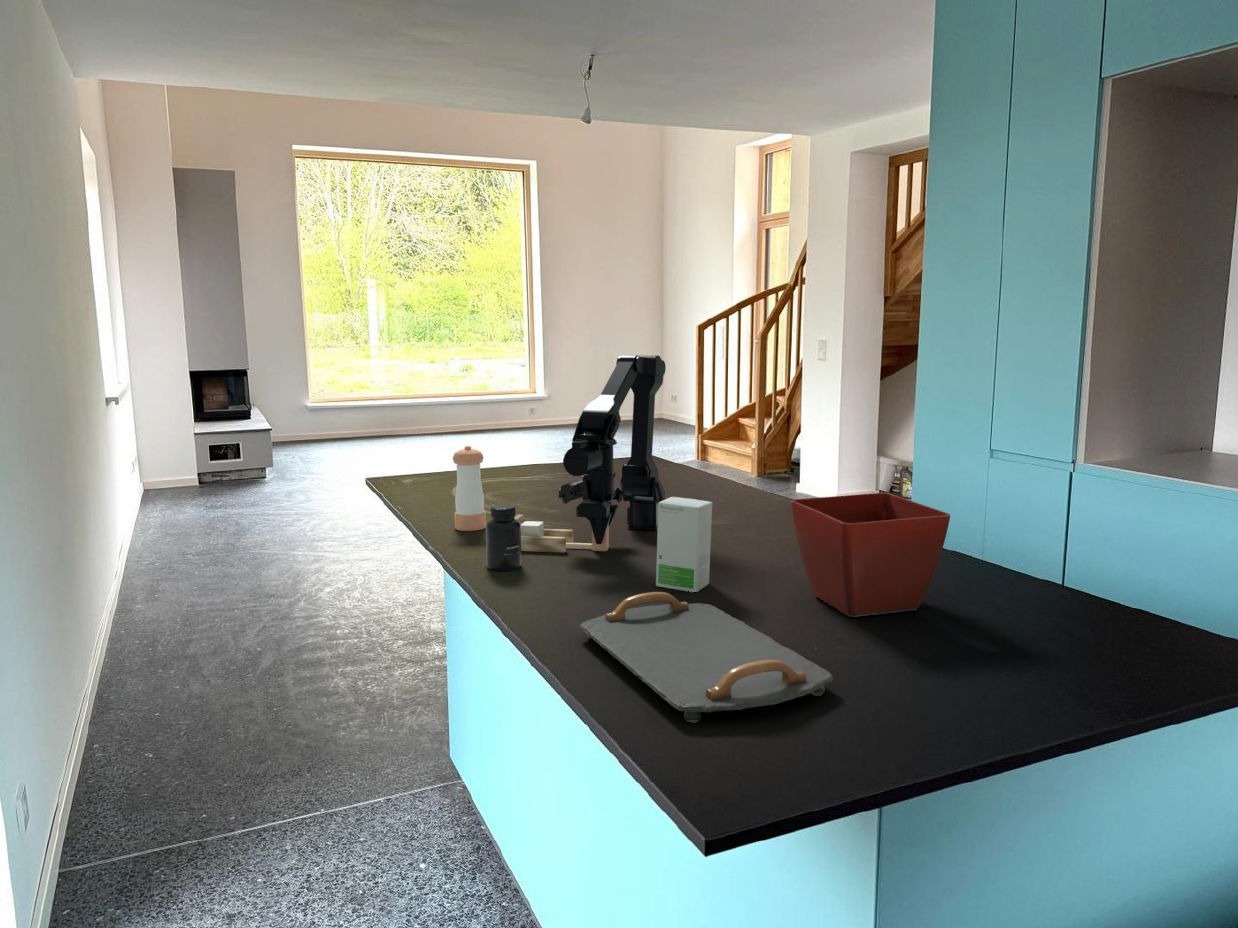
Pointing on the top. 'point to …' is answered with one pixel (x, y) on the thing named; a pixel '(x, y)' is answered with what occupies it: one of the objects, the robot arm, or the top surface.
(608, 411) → the robot arm
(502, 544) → the supplement bottle
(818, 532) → the plant pot
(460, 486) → the pepper shaker
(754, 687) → the serving board
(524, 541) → the oak lane
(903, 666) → the top surface
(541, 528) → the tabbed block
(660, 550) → the skincare box
